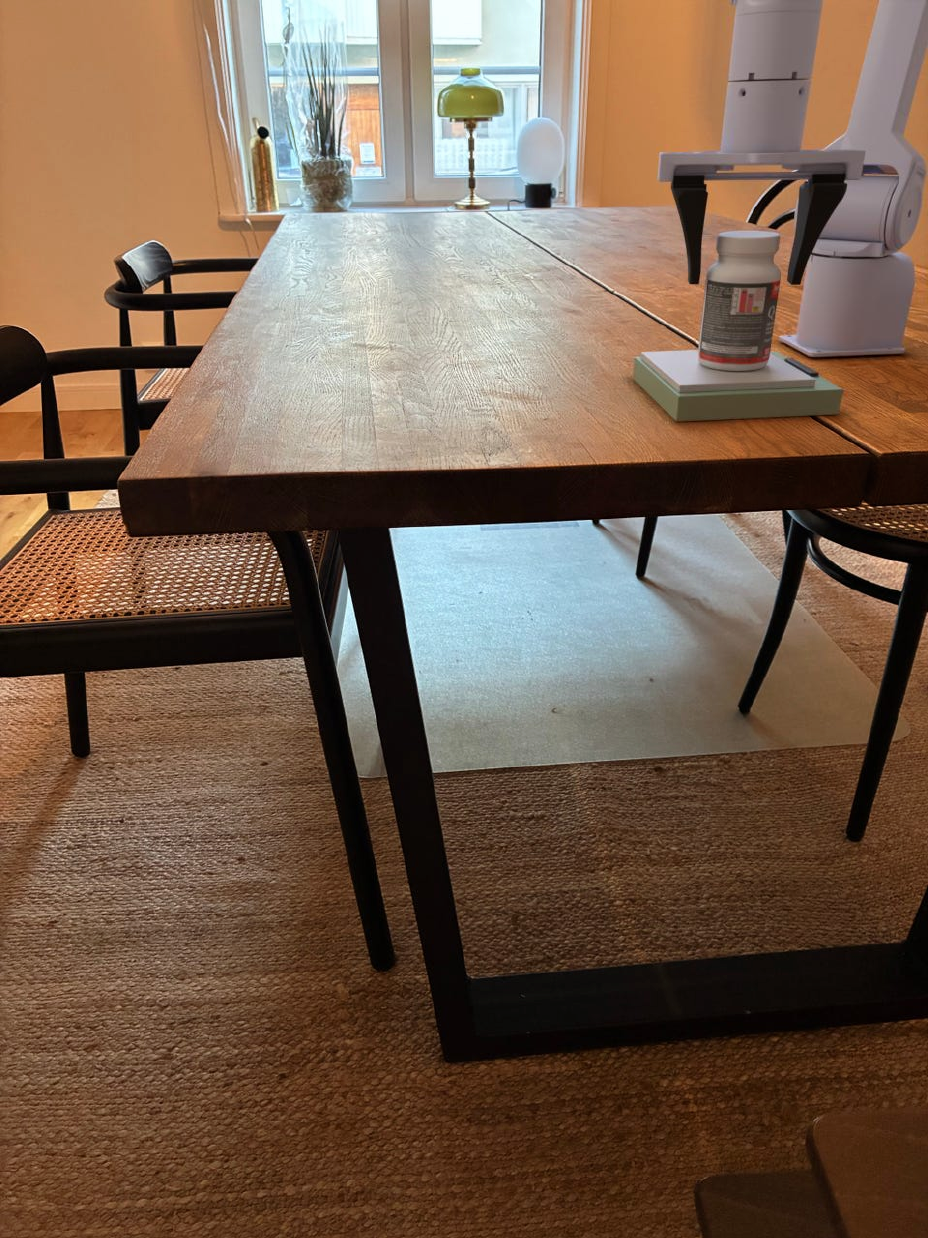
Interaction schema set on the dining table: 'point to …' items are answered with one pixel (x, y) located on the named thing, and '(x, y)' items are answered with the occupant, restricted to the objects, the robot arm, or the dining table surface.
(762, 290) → the pill bottle
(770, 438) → the dining table surface
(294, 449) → the dining table surface
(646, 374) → the scale
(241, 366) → the dining table surface
